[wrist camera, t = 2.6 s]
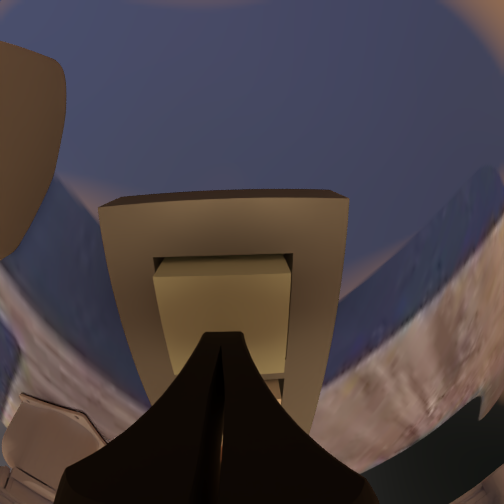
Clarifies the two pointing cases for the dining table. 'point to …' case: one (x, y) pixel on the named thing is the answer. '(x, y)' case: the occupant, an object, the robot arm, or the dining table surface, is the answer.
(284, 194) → the keypad base
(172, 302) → the sage key
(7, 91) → the lumpy-topped squat cylinder
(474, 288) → the dining table surface
